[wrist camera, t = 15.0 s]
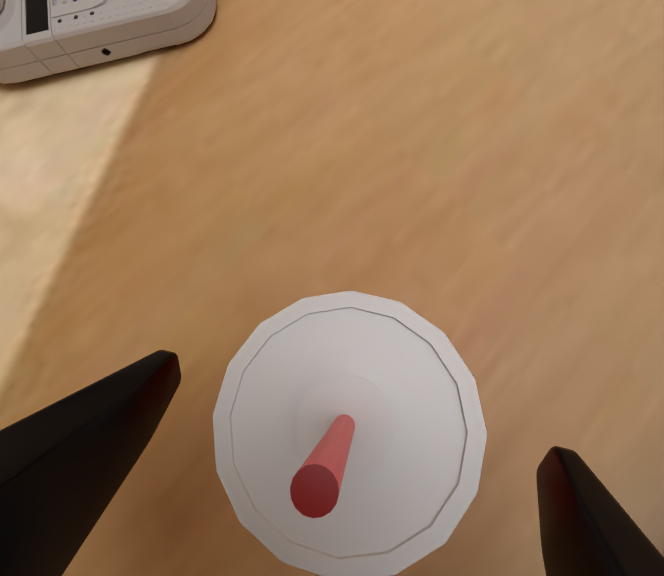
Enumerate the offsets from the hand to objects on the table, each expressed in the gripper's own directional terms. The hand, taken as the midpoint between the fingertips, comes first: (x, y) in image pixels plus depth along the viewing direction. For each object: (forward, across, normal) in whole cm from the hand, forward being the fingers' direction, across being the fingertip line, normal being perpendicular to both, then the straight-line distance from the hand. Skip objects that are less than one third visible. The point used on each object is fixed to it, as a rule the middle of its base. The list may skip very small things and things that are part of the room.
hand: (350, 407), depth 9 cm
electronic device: (+18, +20, -6) cm, 28 cm away
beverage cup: (+6, 0, +6) cm, 9 cm away
